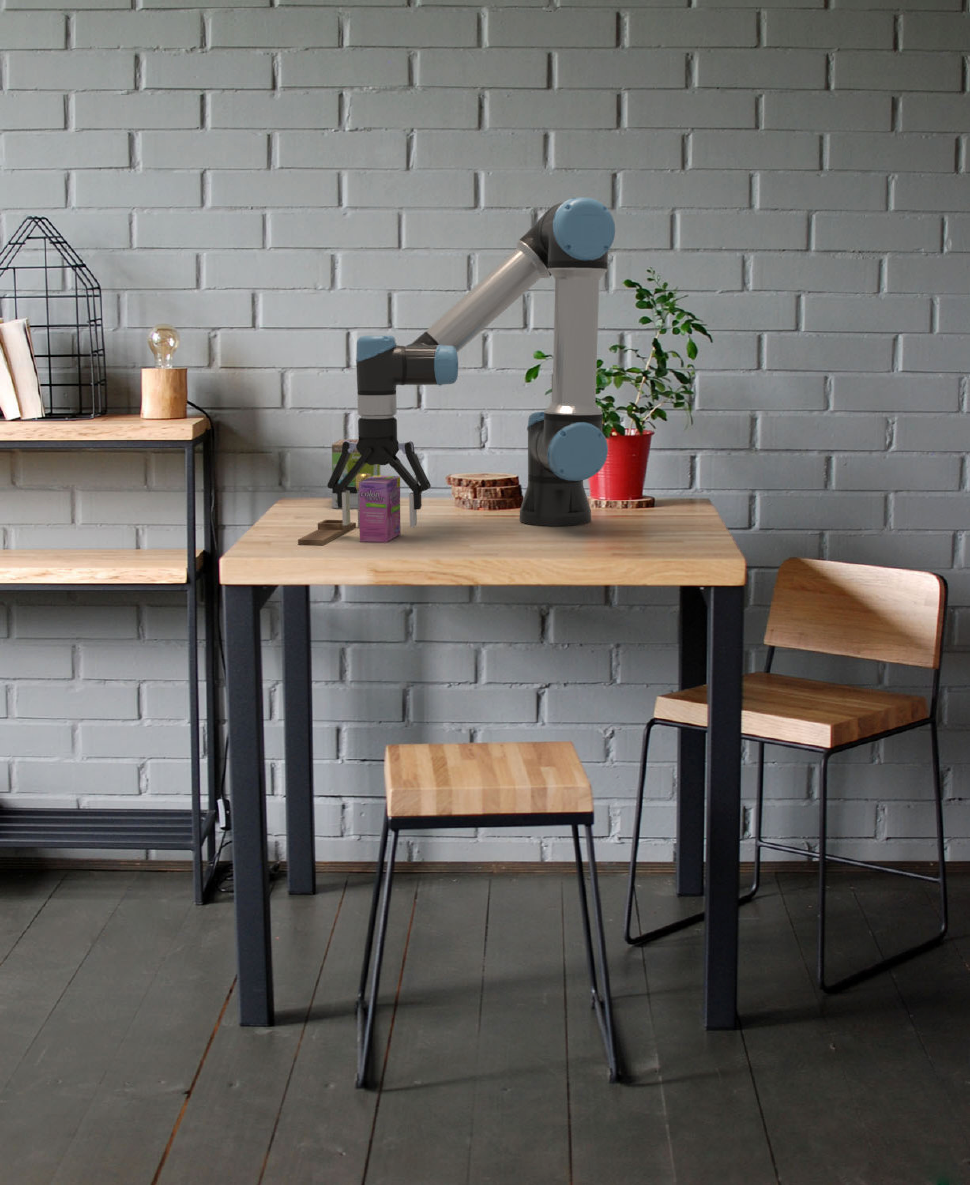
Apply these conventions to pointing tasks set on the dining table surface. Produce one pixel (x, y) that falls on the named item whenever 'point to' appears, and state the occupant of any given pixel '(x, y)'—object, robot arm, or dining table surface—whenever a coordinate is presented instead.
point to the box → (379, 509)
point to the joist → (326, 532)
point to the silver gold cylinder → (359, 478)
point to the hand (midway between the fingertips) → (379, 525)
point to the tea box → (352, 460)
